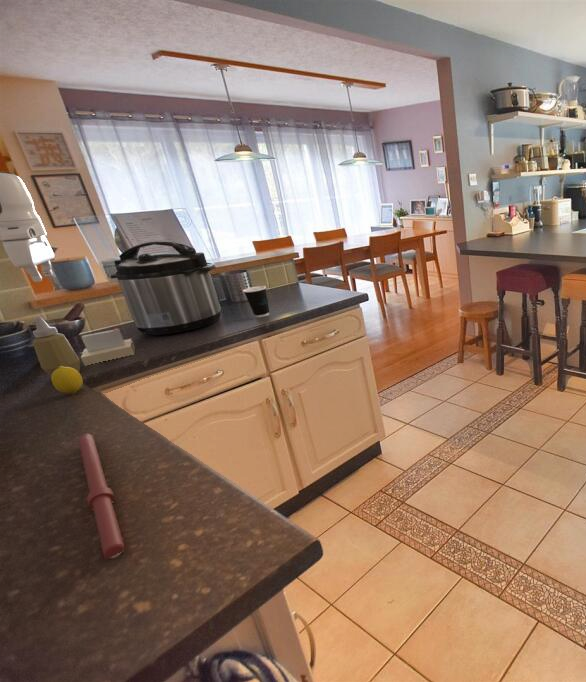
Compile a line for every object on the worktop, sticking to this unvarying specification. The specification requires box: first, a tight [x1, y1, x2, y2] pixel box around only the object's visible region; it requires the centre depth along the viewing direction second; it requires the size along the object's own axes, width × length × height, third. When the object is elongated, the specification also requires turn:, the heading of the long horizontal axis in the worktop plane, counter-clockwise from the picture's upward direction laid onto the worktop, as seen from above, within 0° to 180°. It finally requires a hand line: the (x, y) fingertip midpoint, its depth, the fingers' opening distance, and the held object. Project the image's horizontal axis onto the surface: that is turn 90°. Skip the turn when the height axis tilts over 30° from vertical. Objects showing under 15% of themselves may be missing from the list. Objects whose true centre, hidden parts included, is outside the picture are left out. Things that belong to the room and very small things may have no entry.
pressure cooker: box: [110, 241, 222, 336], centre depth 162 cm, size 30×28×32 cm
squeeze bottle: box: [32, 316, 81, 377], centre depth 125 cm, size 8×8×18 cm
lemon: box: [50, 366, 84, 395], centre depth 114 cm, size 6×6×8 cm
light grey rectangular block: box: [81, 327, 125, 352], centre depth 139 cm, size 9×2×5 cm, turn 123°
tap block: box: [79, 338, 136, 367], centre depth 140 cm, size 13×13×3 cm
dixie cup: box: [242, 285, 270, 319], centre depth 170 cm, size 8×8×11 cm
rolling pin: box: [77, 433, 126, 560], centre depth 76 cm, size 45×3×3 cm, turn 47°
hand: (44, 278), depth 129 cm, fingers open, 8 cm apart
